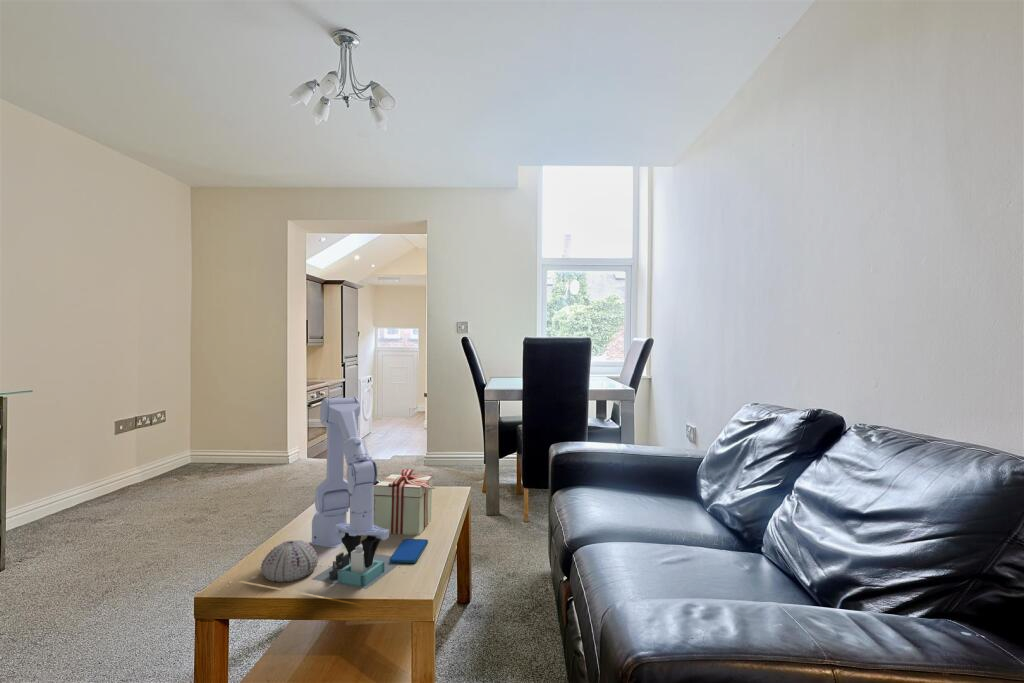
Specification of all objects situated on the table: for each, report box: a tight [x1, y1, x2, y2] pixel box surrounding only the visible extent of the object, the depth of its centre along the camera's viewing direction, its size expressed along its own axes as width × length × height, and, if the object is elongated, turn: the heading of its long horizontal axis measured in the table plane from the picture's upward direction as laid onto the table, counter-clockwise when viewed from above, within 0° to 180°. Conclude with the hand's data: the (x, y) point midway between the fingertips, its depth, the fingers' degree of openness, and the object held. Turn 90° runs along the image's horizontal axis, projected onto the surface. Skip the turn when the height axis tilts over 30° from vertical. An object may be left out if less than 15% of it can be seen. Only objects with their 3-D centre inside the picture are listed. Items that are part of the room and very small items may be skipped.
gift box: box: [374, 469, 436, 536], centre depth 160 cm, size 17×18×17 cm
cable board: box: [311, 552, 401, 590], centre depth 128 cm, size 16×18×4 cm
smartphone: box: [390, 538, 429, 564], centre depth 138 cm, size 7×1×15 cm
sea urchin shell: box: [260, 539, 319, 583], centre depth 126 cm, size 13×14×8 cm
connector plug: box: [351, 543, 374, 574], centre depth 124 cm, size 4×4×6 cm
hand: (361, 564), depth 124 cm, fingers closed on connector plug, 3 cm apart
